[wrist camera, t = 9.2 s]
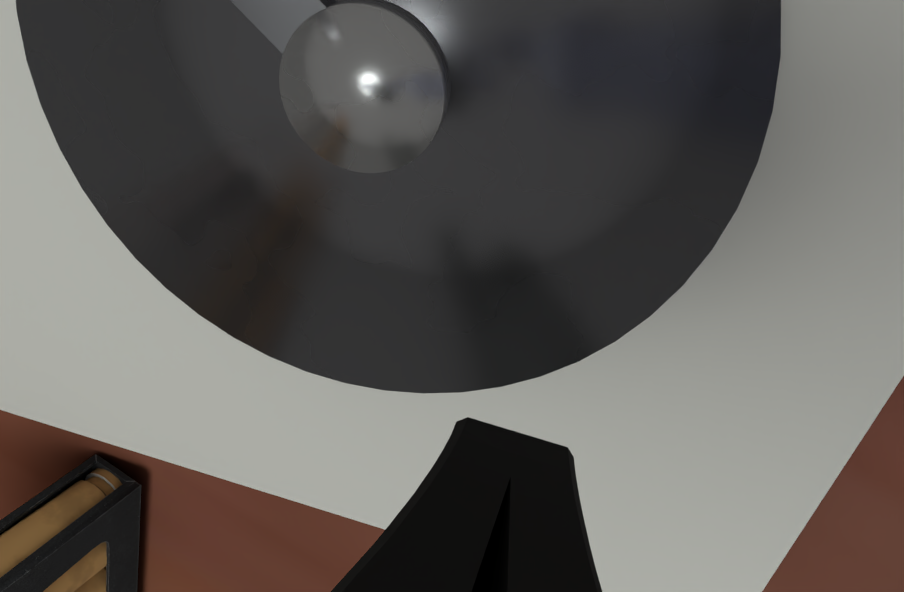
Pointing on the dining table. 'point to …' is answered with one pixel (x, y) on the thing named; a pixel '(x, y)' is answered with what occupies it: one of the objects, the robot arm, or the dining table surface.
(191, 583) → the dining table surface
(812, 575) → the dining table surface
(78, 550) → the ammunition clip
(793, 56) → the dial plate
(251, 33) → the dial
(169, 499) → the dining table surface
